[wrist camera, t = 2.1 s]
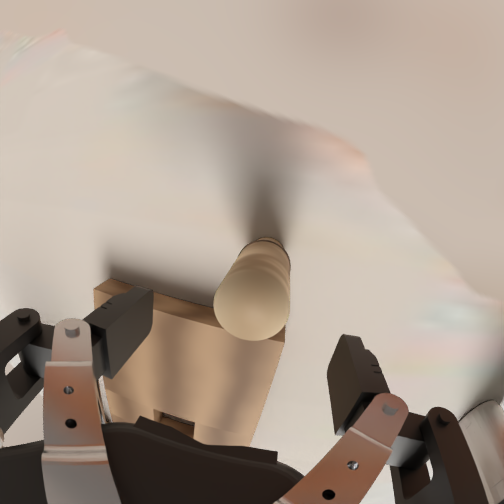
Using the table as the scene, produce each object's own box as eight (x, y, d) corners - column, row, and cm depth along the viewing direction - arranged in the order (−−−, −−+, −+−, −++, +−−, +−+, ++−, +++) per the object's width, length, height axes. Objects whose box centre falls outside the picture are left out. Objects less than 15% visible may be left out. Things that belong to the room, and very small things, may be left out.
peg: (295, 237, 23) (299, 281, 13) (284, 281, 24) (280, 348, 14) (248, 227, 23) (218, 263, 13) (239, 271, 24) (208, 331, 14)
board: (285, 324, 25) (284, 342, 22) (243, 452, 31) (240, 468, 28) (110, 278, 26) (93, 288, 23) (123, 414, 32) (114, 427, 29)
